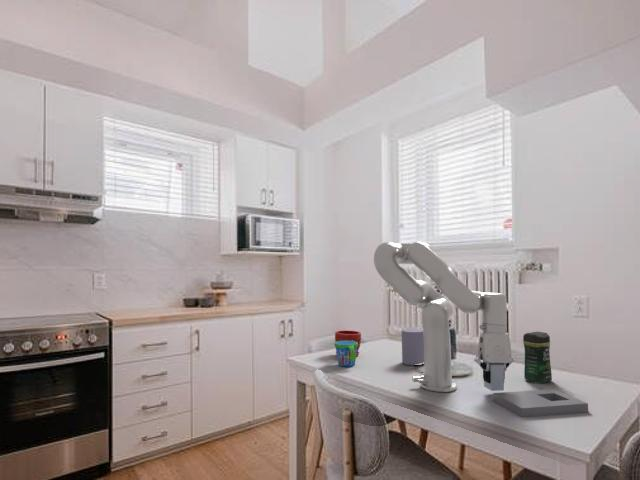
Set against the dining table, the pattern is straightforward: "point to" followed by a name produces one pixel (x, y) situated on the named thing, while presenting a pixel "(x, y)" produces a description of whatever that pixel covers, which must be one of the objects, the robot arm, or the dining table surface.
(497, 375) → the block
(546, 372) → the coffee jar
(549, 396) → the grey board with hole
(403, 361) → the container
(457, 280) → the robot arm
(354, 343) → the snack cup
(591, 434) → the dining table surface
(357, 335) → the plant pot
